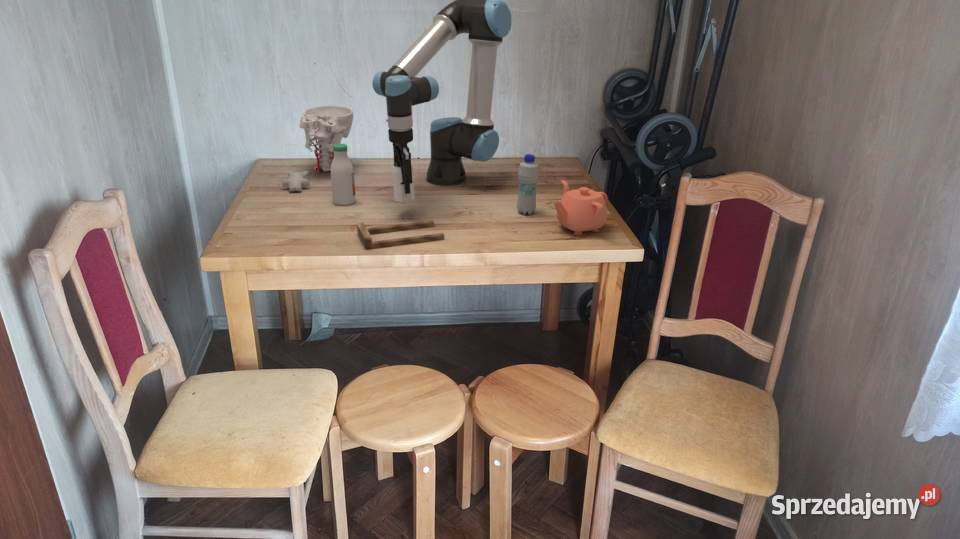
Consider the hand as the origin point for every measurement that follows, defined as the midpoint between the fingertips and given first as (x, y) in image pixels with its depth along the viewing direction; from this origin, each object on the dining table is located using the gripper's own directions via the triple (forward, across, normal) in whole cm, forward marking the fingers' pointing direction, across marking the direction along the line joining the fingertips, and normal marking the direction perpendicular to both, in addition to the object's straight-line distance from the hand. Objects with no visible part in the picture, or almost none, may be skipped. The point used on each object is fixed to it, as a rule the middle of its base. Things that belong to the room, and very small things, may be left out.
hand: (404, 198), depth 208 cm
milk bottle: (+6, -18, -17) cm, 26 cm away
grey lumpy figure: (+6, -40, -30) cm, 50 cm away
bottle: (+7, +10, +39) cm, 41 cm away
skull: (+7, -54, -16) cm, 56 cm away
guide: (+6, +16, -5) cm, 18 cm away
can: (+1, 0, 0) cm, 1 cm away
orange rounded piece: (+7, +26, +49) cm, 56 cm away
